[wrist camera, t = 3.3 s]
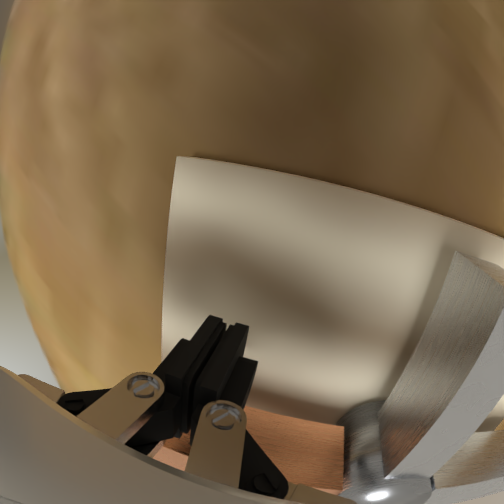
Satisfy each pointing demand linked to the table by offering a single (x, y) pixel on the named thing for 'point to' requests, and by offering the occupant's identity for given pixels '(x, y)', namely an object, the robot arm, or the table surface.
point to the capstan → (408, 412)
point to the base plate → (309, 281)
